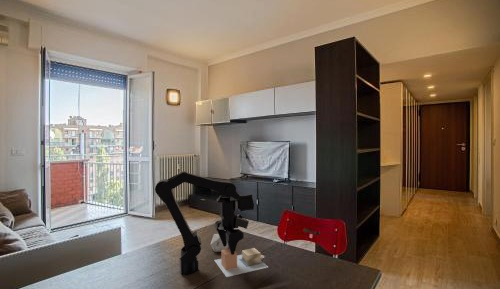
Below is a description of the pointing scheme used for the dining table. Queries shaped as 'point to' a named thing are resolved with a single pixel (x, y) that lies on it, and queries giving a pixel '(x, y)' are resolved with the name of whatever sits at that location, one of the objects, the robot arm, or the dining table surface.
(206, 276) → the dining table surface
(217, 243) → the die
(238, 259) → the blueprint board
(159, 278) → the dining table surface
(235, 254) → the terracotta block
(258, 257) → the birch base block
